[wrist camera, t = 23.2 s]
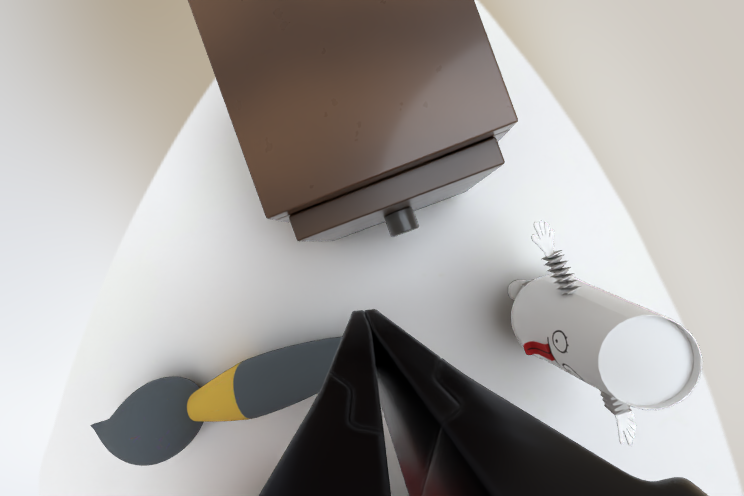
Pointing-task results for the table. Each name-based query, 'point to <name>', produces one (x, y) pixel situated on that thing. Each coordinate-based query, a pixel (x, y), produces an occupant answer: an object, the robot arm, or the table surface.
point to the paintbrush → (213, 401)
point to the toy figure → (604, 339)
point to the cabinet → (350, 89)
